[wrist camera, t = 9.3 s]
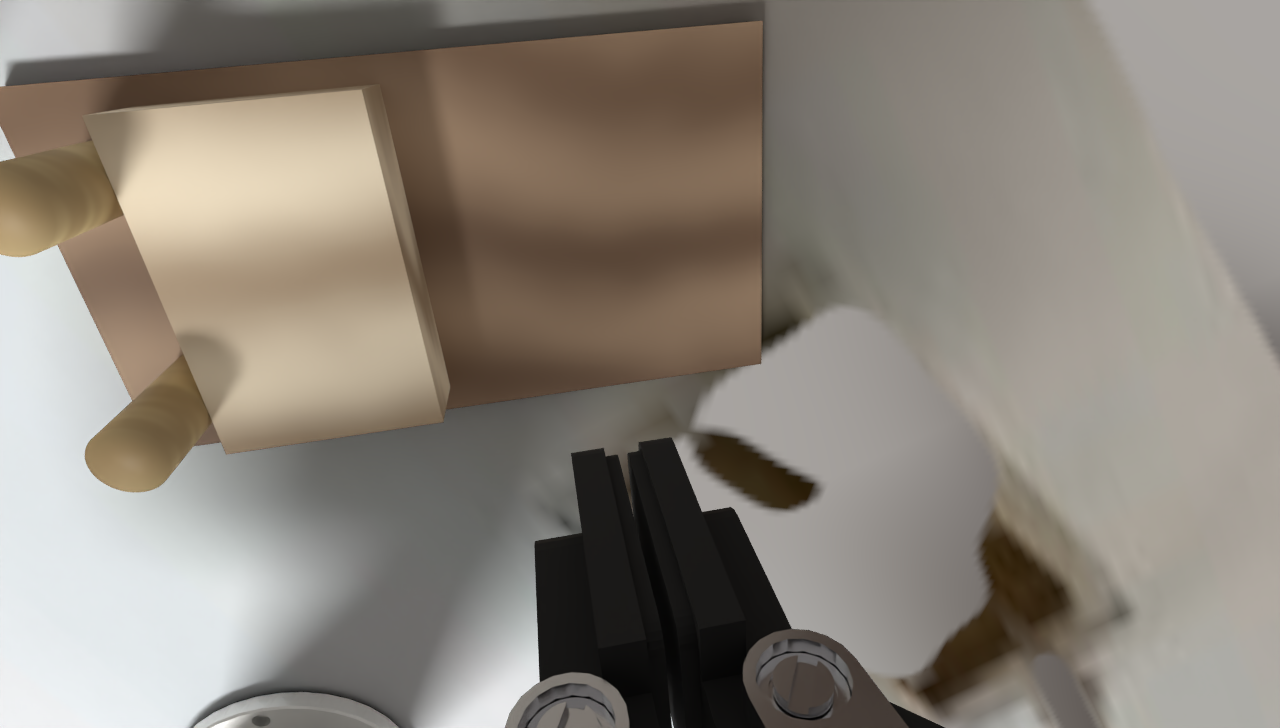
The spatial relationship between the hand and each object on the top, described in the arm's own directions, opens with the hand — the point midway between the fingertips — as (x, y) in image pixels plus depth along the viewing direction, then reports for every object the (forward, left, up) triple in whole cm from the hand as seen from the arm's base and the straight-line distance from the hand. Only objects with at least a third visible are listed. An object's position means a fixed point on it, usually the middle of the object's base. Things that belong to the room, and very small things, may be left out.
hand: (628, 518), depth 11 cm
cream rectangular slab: (0, +10, -17) cm, 20 cm away
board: (0, +5, -18) cm, 19 cm away
